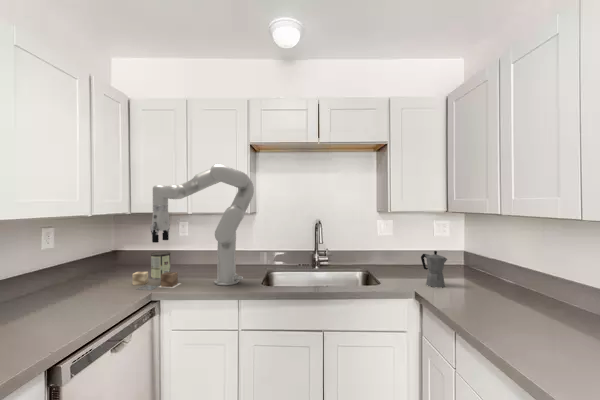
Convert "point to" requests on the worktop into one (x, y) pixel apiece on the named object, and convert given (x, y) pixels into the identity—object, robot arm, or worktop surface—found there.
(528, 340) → the worktop surface
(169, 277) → the walnut block
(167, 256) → the coffee can
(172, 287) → the tile
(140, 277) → the maple block
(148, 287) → the slate coaster
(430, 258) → the coffeepot
